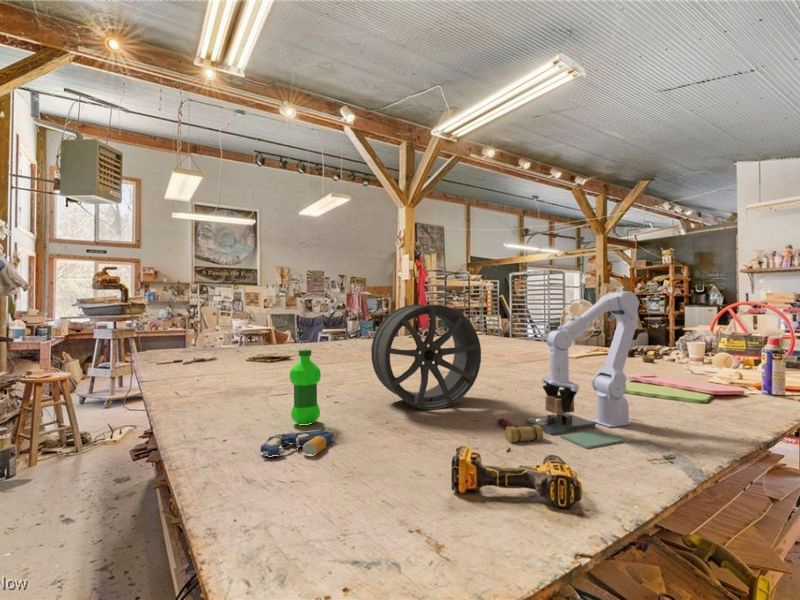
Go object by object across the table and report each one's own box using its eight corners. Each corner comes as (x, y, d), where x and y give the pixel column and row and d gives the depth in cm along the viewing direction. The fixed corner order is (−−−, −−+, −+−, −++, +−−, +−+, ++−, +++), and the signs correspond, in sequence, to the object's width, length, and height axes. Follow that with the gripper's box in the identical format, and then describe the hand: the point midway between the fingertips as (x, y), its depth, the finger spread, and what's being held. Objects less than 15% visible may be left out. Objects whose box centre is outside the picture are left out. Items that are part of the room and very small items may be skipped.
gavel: (483, 413, 137) (511, 412, 139) (484, 427, 137) (512, 425, 139) (511, 428, 117) (543, 426, 118) (511, 445, 116) (544, 442, 118)
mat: (596, 431, 126) (595, 429, 126) (623, 442, 117) (623, 439, 117) (560, 437, 121) (560, 435, 121) (586, 448, 112) (586, 446, 112)
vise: (567, 417, 142) (567, 397, 142) (595, 427, 130) (595, 406, 130) (524, 424, 135) (523, 403, 135) (549, 435, 124) (549, 412, 124)
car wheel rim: (385, 414, 148) (384, 305, 148) (371, 402, 166) (370, 304, 166) (481, 404, 160) (480, 304, 161) (458, 394, 179) (457, 303, 179)
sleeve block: (562, 407, 136) (562, 394, 136) (574, 411, 132) (573, 397, 132) (545, 410, 134) (545, 396, 134) (556, 414, 129) (556, 400, 129)
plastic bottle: (283, 426, 135) (283, 351, 135) (302, 417, 145) (302, 347, 145) (309, 429, 131) (308, 352, 131) (326, 420, 141) (326, 348, 141)
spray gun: (340, 455, 110) (333, 438, 124) (340, 439, 110) (332, 424, 124) (259, 466, 104) (261, 447, 118) (259, 450, 104) (261, 433, 118)
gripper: (534, 365, 138) (535, 405, 138) (565, 371, 125) (566, 416, 125) (551, 363, 141) (551, 402, 141) (583, 370, 127) (584, 413, 127)
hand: (559, 409), depth 133 cm, fingers closed on sleeve block, 5 cm apart
